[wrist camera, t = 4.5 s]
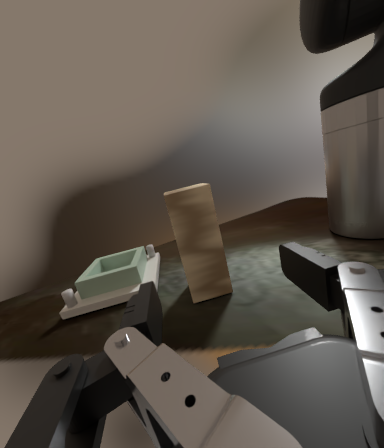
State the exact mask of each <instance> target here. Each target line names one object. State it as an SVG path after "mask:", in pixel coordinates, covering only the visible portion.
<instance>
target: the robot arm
mask: <svg viewBox="0 0 384 448" xmlns="http://www.w3.org/2000/svg"><path fill="white" fill-rule="evenodd" d="M300 31H301V37H302V40H303V43H304V45H305V47H306V48H307V50H308V51H310V52H311V53H315V54H318V53H323V52H327V51H330V50H333V49H335V48H338V47H340V46H342V45H345V44H348V43H350V42H352V41H355V40H357V39H359V38H362V37H364V36H366V35H369V34H371V33H374V34H375V39H374V45H373V48H372V49H371V50H370V51H369V52H368V53H367V54H366V55H365V56H364V57H363V58H362V59H361V60H359V61H358V62H357V63H356V64H354V65H353V66H352V67H350V68H349V69H347V70H346V71H345V72H343V73H341V74H340V75H339V76H337V77H336V78H334V79H333V80H332V81H330V82H329V83H328V84H327V85H326V86H325V87H324V88H323V90H322V92H321V95H320V107H321V121H322V134H323V146H324V160H325V173H326V186H327V200H328V213H329V225H330V230H331V231H332V232H334V233H336V234H339V235H342V236H346V237H353V238H364V239H379V238H384V0H300ZM279 253H280V260H281V267H282V271H283V273H284V275H285V276H286V277H287V278H288V279H289V280H290V281H292V282H293V283H294V284H295V285H296V286H298V287H299V288H300V289H301V290H303V291H304V292H305V293H306V294H308V295H309V296H310V297H311V298H312V299H314V300H315V301H316V302H317V303H319V304H320V305H321V306H322V307H324V308H325V309H326V310H327V311H328V312H329V311H332V310H335V309H338V308H339V309H340V310H341V319H342V325H343V330H344V336H345V337H343V336H338V335H321V334H320V333H319V332H318V331H317V330H316V329H315V328H314V327H312V328H309V329H306V330H303V331H300V332H296V333H293V334H290V335H289V336H287V337H286V338H284V339H283V340H281V341H280V342H278V343H276V344H275V345H273V346H272V347H270V348H262V349H248V350H240V351H237V352H233V353H230V354H227V355H224V356H221V357H218V358H217V360H218V364H219V368H217V369H216V370H214V371H213V372H212V373H210V374H209V375H208V376H207V377H206V376H205V375H204V374H203V373H201V372H200V371H199V370H197V369H196V368H195V367H194V366H192V365H191V364H190V363H189V362H187V361H186V360H185V359H183V358H182V357H181V356H180V355H178V354H177V353H176V352H175V351H173V350H172V349H171V348H169V347H168V346H167V345H166V344H164V343H162V315H163V313H162V306H161V302H160V299H159V296H158V293H157V290H156V287H155V284H154V282H153V281H150V282H147V283H143V284H140V287H139V291H138V294H135V295H133V296H132V297H131V298H130V299H129V301H128V303H127V306H126V309H125V312H124V315H123V318H122V322H121V325H120V328H119V330H118V331H117V332H115V333H114V334H113V335H112V336H110V338H109V339H108V340H107V341H106V343H105V346H104V350H103V351H102V352H100V353H98V354H97V355H95V356H93V357H91V358H89V359H87V360H86V361H84V359H83V357H82V355H80V354H73V355H70V356H68V357H66V358H64V359H62V360H61V361H59V362H58V363H57V364H55V365H54V366H53V367H52V368H51V369H50V370H49V371H48V373H47V374H46V375H45V377H44V379H43V380H42V382H41V384H40V386H39V388H38V389H37V391H36V393H35V395H34V396H33V398H32V400H31V402H30V403H29V405H28V407H27V409H26V410H25V412H24V414H23V416H22V418H21V419H20V421H19V423H18V425H17V426H16V428H15V430H14V432H13V433H12V435H11V437H10V439H9V441H8V443H7V444H6V446H5V448H100V444H101V439H102V434H103V430H104V425H105V420H106V415H107V414H108V413H110V412H111V411H112V410H114V409H115V408H117V407H118V406H120V405H121V404H123V403H124V402H126V401H127V403H128V404H129V406H130V407H131V409H132V410H133V412H134V413H135V415H136V416H137V418H138V419H139V421H140V422H141V424H142V425H143V427H144V428H145V430H146V432H147V433H148V435H149V436H150V438H151V440H152V441H153V443H154V445H155V447H156V448H384V269H379V270H377V269H376V268H375V267H373V266H372V265H369V264H366V263H362V262H344V263H342V262H340V261H338V260H336V259H334V258H332V257H329V256H327V255H325V254H323V253H320V252H319V251H317V250H315V249H312V248H308V247H303V246H301V245H299V244H296V243H294V242H289V243H285V244H282V245H280V246H279Z"/></svg>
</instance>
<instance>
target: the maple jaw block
mask: <svg viewBox="0 0 384 448" xmlns="http://www.w3.org/2000/svg"><path fill="white" fill-rule="evenodd" d="M164 198H165V202H166V205H167V209H168V213H169V216H170V220H171V223H172V227H173V231H174V234H175V238H176V242H177V245H178V249H179V253H180V256H181V260H182V263H183V267H184V271H185V274H186V278H187V282H188V285H189V289H190V292H191V296H192V300H193V303H197V302H201V301H204V300H207V299H211V298H214V297H218V296H221V295H224V294H228V293H231V292H233V290H232V285H231V280H230V276H229V271H228V267H227V262H226V257H225V253H224V248H223V244H222V239H221V234H220V230H219V225H218V220H217V216H216V211H215V207H214V202H213V198H212V193H211V188H210V184H205V183H201V184H197V185H193V186H189V187H185V188H181V189H177V190H173V191H169V192H165V193H164Z"/></svg>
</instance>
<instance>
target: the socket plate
mask: <svg viewBox="0 0 384 448" xmlns="http://www.w3.org/2000/svg"><path fill="white" fill-rule="evenodd" d="M146 249H147V252H148V255H146V252H145V249H144V246H142V247H138V248H135V249H131V250H127V251H123V252H120V253H116V254H112V255H109V256H105V257H101V258H97V259H96V260H95V261H94V262H93V263H92V264H91V265H90V266H89V268H88V269H87V270H86V271H85V272H84V273H83V274H82V275H81V276H80V277H79V279H78V280H77V281H76V282H75V286H76V288H77V290H78V291H77V292H76V293H75V294H74V293H73V290H72V289H68V290H65V291H64V292H62V293H61V294H62V297H63V299H64V301H65V303H66V306H65V307H64V308H63V309H62V311H61V312H60V315H61V317H62V319H67V318H70V317H74V316H77V315H81V314H84V313H88V312H91V311H95V310H98V309H102V308H105V307H109V306H112V305H116V304H119V303H123V302H126V301H129V299H130V298H131V297H132V296H133V295H135V294H138V291H139V287H140V284H143V283H147V282H150V281H153V282H154V284H155V287H156V290H157V288H158V277H159V265H160V255H159V252H158V253H155V251H154V248H153V245H148V246H146Z"/></svg>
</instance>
